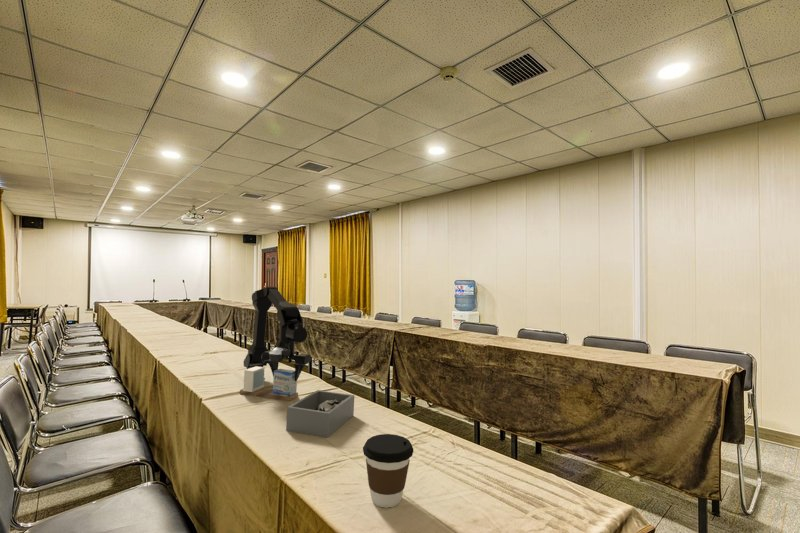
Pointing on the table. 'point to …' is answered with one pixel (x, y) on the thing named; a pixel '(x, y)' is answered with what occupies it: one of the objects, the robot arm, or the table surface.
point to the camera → (328, 405)
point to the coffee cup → (387, 467)
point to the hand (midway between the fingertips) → (285, 379)
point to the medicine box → (284, 382)
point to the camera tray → (319, 414)
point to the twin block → (253, 378)
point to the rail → (269, 394)
